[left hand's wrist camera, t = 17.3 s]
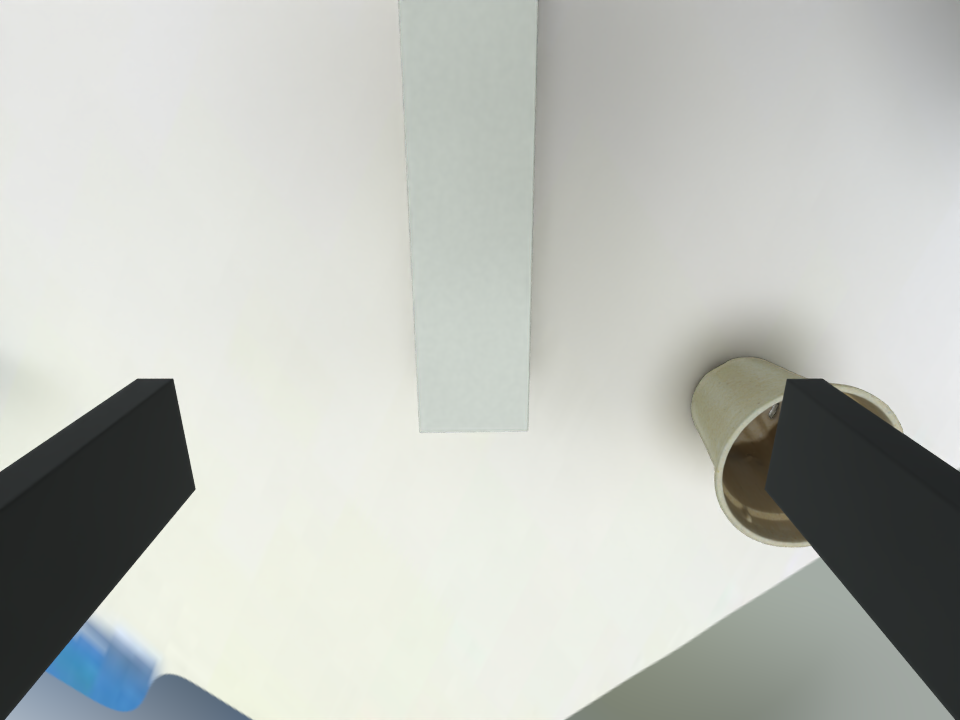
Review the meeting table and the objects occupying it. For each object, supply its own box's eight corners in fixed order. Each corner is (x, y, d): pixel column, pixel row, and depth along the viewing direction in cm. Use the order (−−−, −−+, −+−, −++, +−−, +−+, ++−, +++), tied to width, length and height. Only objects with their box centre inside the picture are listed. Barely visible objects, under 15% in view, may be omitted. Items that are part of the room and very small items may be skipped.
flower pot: (671, 477, 39) (724, 563, 31) (655, 349, 36) (709, 407, 28) (812, 449, 38) (903, 530, 30) (808, 316, 35) (909, 366, 27)
